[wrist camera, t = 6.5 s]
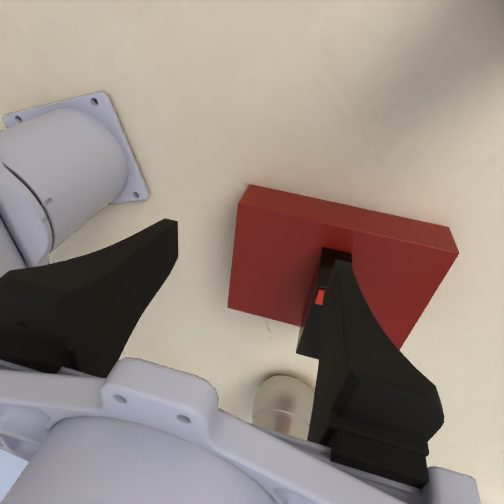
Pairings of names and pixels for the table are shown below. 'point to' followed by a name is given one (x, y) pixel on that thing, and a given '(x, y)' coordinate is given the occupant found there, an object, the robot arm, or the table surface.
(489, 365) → the table surface
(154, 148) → the table surface
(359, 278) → the red rectangular block
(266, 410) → the metal water bottle
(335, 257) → the block
